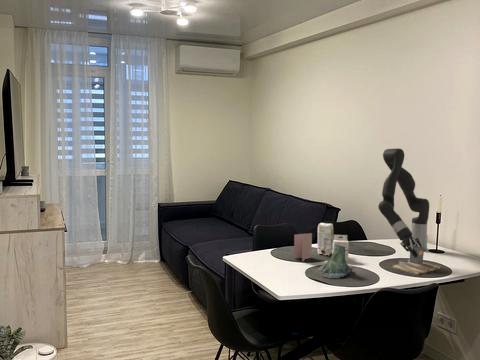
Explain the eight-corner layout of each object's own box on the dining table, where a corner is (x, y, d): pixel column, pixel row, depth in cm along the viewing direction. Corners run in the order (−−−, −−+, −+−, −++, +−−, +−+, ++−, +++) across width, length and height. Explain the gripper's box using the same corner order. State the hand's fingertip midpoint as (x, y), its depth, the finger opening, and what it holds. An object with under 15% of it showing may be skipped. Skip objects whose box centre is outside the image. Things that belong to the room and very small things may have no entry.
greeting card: (310, 257, 278) (311, 233, 277) (316, 260, 271) (317, 235, 270) (293, 259, 275) (293, 234, 273) (298, 262, 268) (299, 236, 266)
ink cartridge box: (333, 261, 270) (333, 236, 269) (332, 258, 275) (333, 234, 274) (348, 261, 270) (348, 236, 268) (347, 259, 274) (347, 234, 273)
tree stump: (307, 272, 251) (313, 239, 252) (336, 276, 259) (342, 244, 260) (327, 279, 234) (334, 245, 235) (357, 283, 243) (364, 250, 244)
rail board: (415, 261, 268) (415, 257, 268) (440, 268, 255) (440, 264, 254) (392, 267, 257) (392, 263, 257) (417, 274, 244) (417, 270, 244)
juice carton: (329, 256, 281) (329, 225, 279) (316, 254, 285) (316, 224, 283) (333, 253, 287) (334, 223, 285) (320, 251, 291) (321, 222, 290)
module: (415, 260, 259) (415, 245, 258) (423, 262, 255) (423, 247, 254) (409, 262, 256) (410, 247, 256) (417, 264, 252) (418, 249, 251)
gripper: (397, 228, 256) (415, 254, 247) (414, 225, 264) (432, 250, 255) (389, 235, 261) (407, 261, 252) (405, 232, 269) (423, 257, 260)
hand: (419, 255), depth 254 cm, fingers closed on module, 4 cm apart
